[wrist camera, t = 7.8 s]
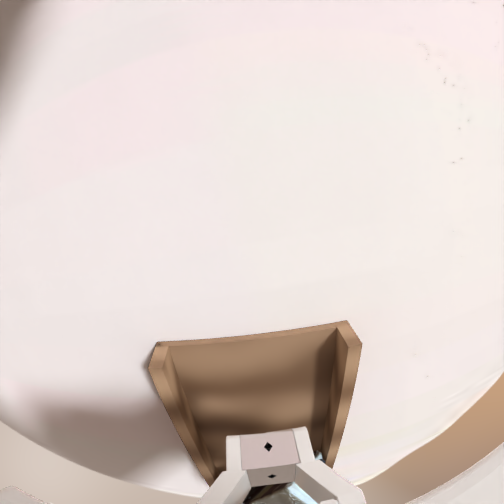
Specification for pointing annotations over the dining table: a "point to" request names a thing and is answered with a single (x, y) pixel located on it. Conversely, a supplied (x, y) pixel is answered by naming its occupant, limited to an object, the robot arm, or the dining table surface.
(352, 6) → the dining table surface
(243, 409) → the cradle
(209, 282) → the dining table surface
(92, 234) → the dining table surface
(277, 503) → the bell
